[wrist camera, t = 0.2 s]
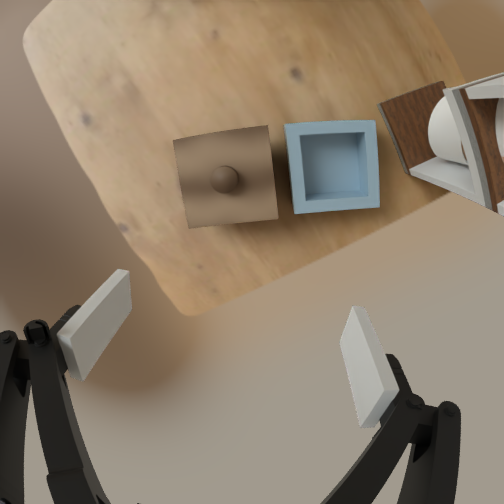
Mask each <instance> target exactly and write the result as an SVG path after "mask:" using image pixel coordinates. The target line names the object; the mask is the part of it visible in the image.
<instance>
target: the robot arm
mask: <svg viewBox="0 0 504 504" xmlns="http://www.w3.org/2000/svg"><path fill="white" fill-rule="evenodd" d="M131 310H132V304H131V290H130V274H129V271H127V270H122V269H117V271H115V272H114V274H113V275H111V276H110V278H109V279H107V281H105V283H104V284H103V285H102V286H101V287H100V288H99V289H98V290H97V291H96V292H95V293H94V294H93V295H92V296H91V297H90V298H89V299H88V300H87V301H86V302H85V303H84V304H83V306H80V305H75V306H74V307H72V308H70V309H69V310H68V311H67V312H66V313H65V314H64V316H62V317H61V318H60V320H58V321H57V322H56V323H55V324H54V326H53V327H52V328H51V329H50V330H49V327H48V325H47V323H46V322H45V321H43V320H33V321H30V322H29V323H27V324H26V325H25V327H24V330H23V331H24V334H25V337H26V339H27V340H18V337H17V335H16V333H15V332H13V331H10V330H8V331H4V332H1V333H0V504H24V442H25V429H26V418H27V409H28V402H29V395H30V387H31V386H32V394H33V401H34V408H35V414H36V419H37V425H38V430H39V435H40V439H41V444H42V448H43V452H44V456H45V460H46V464H47V467H48V472H49V474H48V475H47V483H48V486H49V489H50V492H51V495H52V498H53V501H54V504H111V503H110V502H109V500H108V498H107V497H106V495H105V493H104V491H103V489H102V487H101V484H100V482H99V480H98V478H97V475H96V473H95V470H94V468H93V465H92V463H91V460H90V458H89V455H88V452H87V450H86V447H85V444H84V441H83V439H82V435H81V432H80V429H79V426H78V423H77V419H76V416H75V413H74V409H73V406H72V402H71V398H70V394H69V390H68V386H67V382H66V378H65V375H64V373H65V372H66V370H67V369H68V371H69V373H70V376H71V377H72V378H75V379H77V380H80V381H84V380H85V378H86V377H87V375H88V373H89V372H90V370H91V369H92V367H93V366H94V364H95V363H96V361H97V360H98V358H99V357H100V355H101V354H102V352H103V350H104V349H105V348H106V346H107V345H108V343H109V342H110V340H111V339H112V337H113V336H114V335H115V333H116V332H117V330H118V329H119V327H120V326H121V324H122V323H123V322H124V320H125V319H126V317H127V316H128V314H129V313H130V312H131ZM339 343H340V347H341V351H342V354H343V359H344V362H345V366H346V370H347V374H348V378H349V383H350V386H351V391H352V395H353V399H354V404H355V408H356V412H357V417H358V421H359V426H360V428H366V427H367V428H368V427H375V425H376V424H377V423H378V421H379V420H380V424H381V428H380V429H379V430H378V431H377V433H376V434H375V435H374V437H373V438H372V440H371V442H370V443H369V445H368V446H367V447H366V449H365V450H364V452H363V453H362V454H361V456H360V457H359V458H358V460H357V461H356V462H355V464H354V465H353V466H352V467H351V469H350V470H349V471H348V473H347V474H346V475H345V476H344V477H343V479H342V480H341V481H340V482H339V483H338V485H337V486H336V487H335V488H334V489H333V490H332V492H331V493H330V494H329V495H328V496H327V497H326V498H325V499H324V500H323V502H322V503H321V504H371V503H372V502H373V500H374V499H375V498H376V496H377V495H378V493H379V492H380V490H381V489H382V487H383V486H384V484H385V482H386V481H387V479H388V478H389V476H390V475H391V473H392V471H393V469H394V468H395V466H396V465H397V463H398V461H399V459H400V458H401V456H402V454H403V452H404V450H405V449H406V447H407V445H408V443H412V446H411V451H410V456H409V460H408V465H407V469H406V473H405V477H404V481H403V485H402V488H401V492H400V495H399V499H398V502H397V504H454V500H455V494H456V486H457V478H458V468H459V456H460V436H461V435H460V434H461V413H460V409H459V408H458V406H457V405H456V404H454V403H452V402H450V401H444V402H442V403H441V404H440V405H439V406H438V407H433V406H429V405H425V403H424V401H423V399H422V398H421V397H419V396H418V395H416V394H413V393H412V391H411V388H410V386H409V383H408V382H407V379H406V377H405V375H404V372H403V370H402V369H401V368H402V367H401V365H400V363H399V361H398V360H397V358H395V356H394V355H393V354H385V353H384V350H383V348H382V346H381V343H380V341H379V339H378V336H377V334H376V332H375V329H374V327H373V325H372V323H371V320H370V318H369V316H368V314H367V312H366V309H365V307H361V306H352V308H351V311H350V314H349V317H348V320H347V323H346V325H345V328H344V331H343V333H342V336H341V339H340V342H339ZM137 504H139V503H137Z"/></svg>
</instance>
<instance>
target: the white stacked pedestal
mask: <svg viewBox="0 0 504 504" xmlns="http://www.w3.org/2000/svg"><path fill="white" fill-rule="evenodd" d="M377 106H378V108H379V110H380V112H381V115H382V117H383V119H384V121H385V124H386V126H387V128H388V130H389V133H390V135H391V138H392V140H393V142H394V145H395V147H396V150H397V152H398V155H399V158H400V160H401V163H402V165H403V168H404V171H405V173H407V174H410V175H412V176H415V177H417V178H420V179H423V180H425V181H428V182H430V183H433V184H435V185H437V186H440V187H442V188H445V189H447V190H449V191H452V192H454V193H456V194H458V195H461V196H463V197H465V198H468V199H469V200H472V201H474V202H476V203H478V204H480V205H482V206H484V207H486V208H488V209H490V210H492V211H494V212H496V213H498V214H500V215H502V216H504V72H503V73H500V74H496V75H492V76H489V77H486V78H482V79H479V80H476V81H473V82H470V83H467V84H463V85H460V86H457V87H451V88H446V86H445V84H444V82H443V81H440V82H436V83H433V84H430V85H427V86H424V87H421V88H418V89H415V90H413V91H410V92H407V93H404V94H402V95H399V96H396V97H394V98H391V99H388V100H386V101H383V102H381V103H378V104H377Z"/></svg>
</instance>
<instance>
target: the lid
mask: <svg viewBox="0 0 504 504" xmlns="http://www.w3.org/2000/svg"><path fill="white" fill-rule="evenodd" d="M173 144H174V150H175V156H176V162H177V168H178V174H179V180H180V185H181V191H182V196H183V202H184V207H185V212H186V218H187V223H188V228H189V229H190V228H199V227H207V226H216V225H225V224H234V223H243V222H253V221H263V220H273V219H278V207H277V198H276V189H275V181H274V172H273V163H272V155H271V147H270V139H269V131H268V125H266V126H258V127H249V128H242V129H235V130H228V131H221V132H215V133H209V134H203V135H197V136H192V137H187V138H181V139H176V140H173Z"/></svg>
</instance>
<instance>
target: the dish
mask: <svg viewBox="0 0 504 504" xmlns="http://www.w3.org/2000/svg"><path fill="white" fill-rule="evenodd" d="M283 126H284V135H285V143H286V152H287V161H288V170H289V179H290V189H291V199H292V206H293V210H294V214H302V213H313V212H325V211H337V210H349V209H363V208H377V207H380V195H379V165H378V148H377V135H376V124H375V120H342V121H319V122H303V123H290V124H284V125H283Z"/></svg>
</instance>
